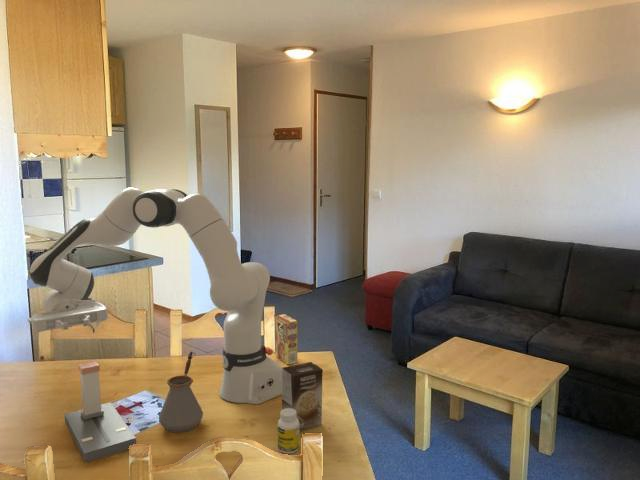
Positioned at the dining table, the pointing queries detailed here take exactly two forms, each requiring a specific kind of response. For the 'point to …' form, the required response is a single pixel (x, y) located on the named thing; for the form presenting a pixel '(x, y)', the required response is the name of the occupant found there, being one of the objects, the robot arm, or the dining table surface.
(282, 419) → the supplement bottle
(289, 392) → the coffee box
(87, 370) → the fader knob
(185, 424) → the coffee pot
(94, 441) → the fader console
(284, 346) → the candy box
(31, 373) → the dining table surface
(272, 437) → the dining table surface
